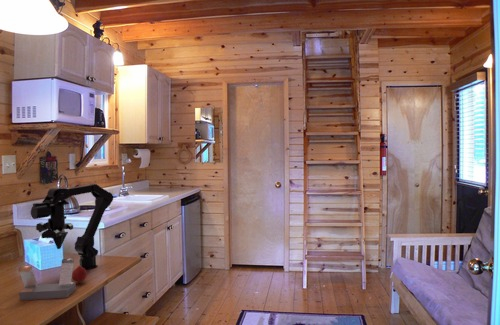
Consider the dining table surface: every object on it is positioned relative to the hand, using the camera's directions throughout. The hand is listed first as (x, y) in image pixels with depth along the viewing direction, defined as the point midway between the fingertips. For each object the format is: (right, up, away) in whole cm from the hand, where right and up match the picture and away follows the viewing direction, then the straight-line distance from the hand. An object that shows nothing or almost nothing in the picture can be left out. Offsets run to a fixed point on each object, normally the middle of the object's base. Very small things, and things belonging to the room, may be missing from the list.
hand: (58, 248), depth 161 cm
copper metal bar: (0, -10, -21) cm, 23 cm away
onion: (+14, -13, -8) cm, 21 cm away
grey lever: (+13, -10, -20) cm, 26 cm away
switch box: (+7, -14, -20) cm, 25 cm away
